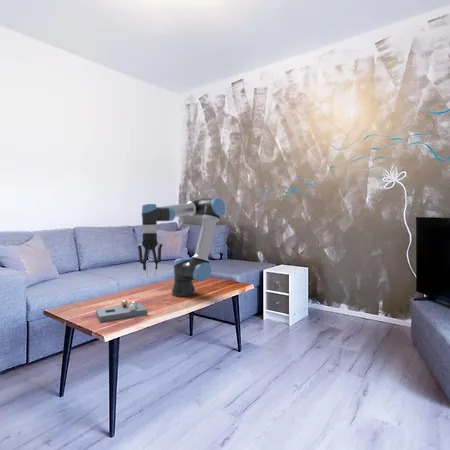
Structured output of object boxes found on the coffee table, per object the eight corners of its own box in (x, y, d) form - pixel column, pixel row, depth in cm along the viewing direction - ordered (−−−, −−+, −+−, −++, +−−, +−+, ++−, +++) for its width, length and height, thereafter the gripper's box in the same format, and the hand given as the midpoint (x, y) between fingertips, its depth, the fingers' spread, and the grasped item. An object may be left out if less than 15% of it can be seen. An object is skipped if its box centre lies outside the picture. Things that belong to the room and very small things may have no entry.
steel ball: (136, 306, 171) (136, 300, 170) (137, 307, 168) (137, 301, 168) (130, 307, 169) (130, 301, 169) (131, 308, 166) (131, 302, 166)
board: (140, 307, 177) (140, 302, 177) (147, 314, 165) (146, 309, 165) (96, 313, 166) (96, 309, 166) (99, 321, 154) (99, 316, 154)
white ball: (134, 309, 165) (134, 303, 165) (136, 310, 162) (136, 304, 162) (128, 310, 164) (128, 304, 164) (129, 311, 161) (129, 305, 161)
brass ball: (127, 305, 173) (126, 299, 173) (128, 306, 170) (128, 300, 170) (120, 306, 171) (120, 300, 171) (122, 307, 168) (121, 301, 168)
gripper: (162, 231, 179) (163, 273, 179) (132, 232, 171) (133, 276, 171) (166, 232, 172) (167, 275, 173) (135, 233, 164) (136, 278, 165)
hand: (150, 275), depth 172 cm, fingers open, 4 cm apart
